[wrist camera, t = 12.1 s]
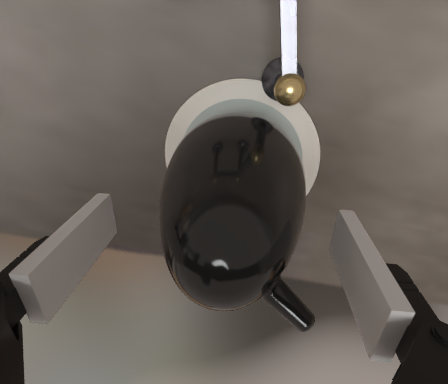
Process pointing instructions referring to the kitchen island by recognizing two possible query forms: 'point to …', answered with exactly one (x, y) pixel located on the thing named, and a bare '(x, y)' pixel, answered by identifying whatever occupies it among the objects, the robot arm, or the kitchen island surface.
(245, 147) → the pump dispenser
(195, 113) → the coaster
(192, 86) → the kitchen island surface
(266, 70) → the metal corner railing
